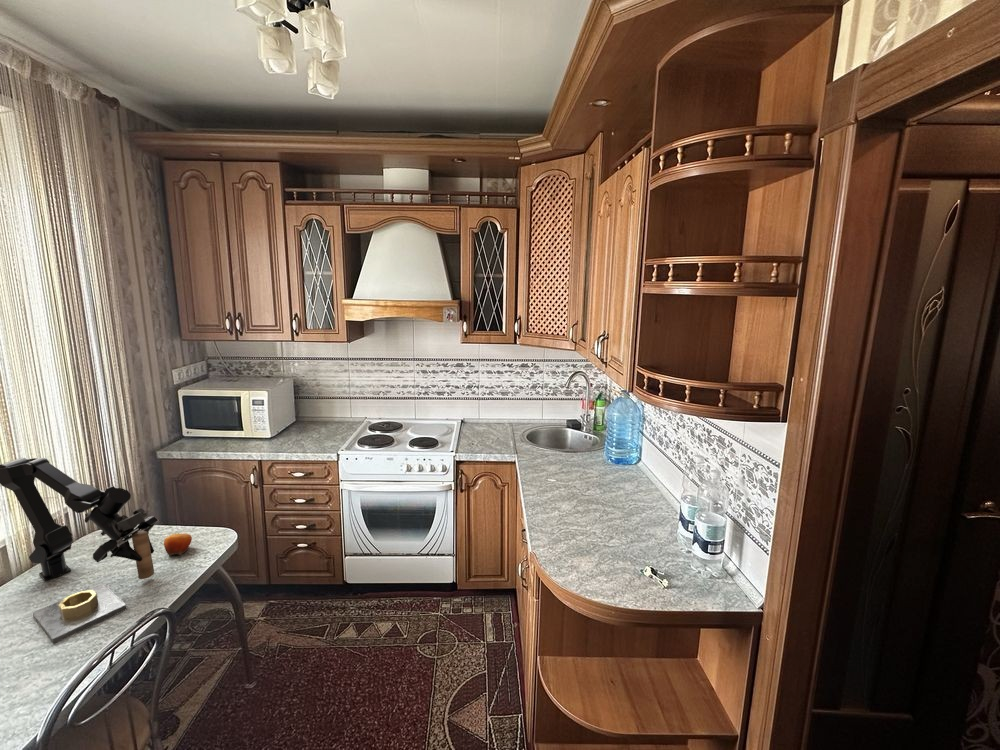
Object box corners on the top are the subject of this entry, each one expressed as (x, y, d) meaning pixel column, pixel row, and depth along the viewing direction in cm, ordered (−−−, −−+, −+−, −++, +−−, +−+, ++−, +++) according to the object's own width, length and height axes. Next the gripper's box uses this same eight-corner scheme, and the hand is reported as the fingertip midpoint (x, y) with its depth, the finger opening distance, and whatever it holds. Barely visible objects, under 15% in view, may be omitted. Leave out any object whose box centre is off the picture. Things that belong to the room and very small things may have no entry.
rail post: (136, 576, 149) (129, 535, 147) (151, 569, 153) (144, 529, 150) (141, 580, 147) (134, 539, 144) (156, 574, 151) (150, 533, 148)
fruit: (158, 559, 159) (160, 534, 162) (168, 559, 166) (169, 535, 169) (185, 555, 161) (187, 530, 164) (194, 555, 169) (195, 531, 171)
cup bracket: (33, 617, 134) (30, 603, 133) (103, 587, 147) (101, 574, 146) (53, 644, 124) (50, 629, 123) (126, 609, 137) (124, 595, 136)
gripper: (94, 521, 137) (135, 558, 138) (149, 492, 155) (184, 525, 156) (75, 544, 139) (115, 580, 140) (131, 513, 157) (166, 545, 158)
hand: (147, 556), depth 149 cm, fingers closed on rail post, 4 cm apart
